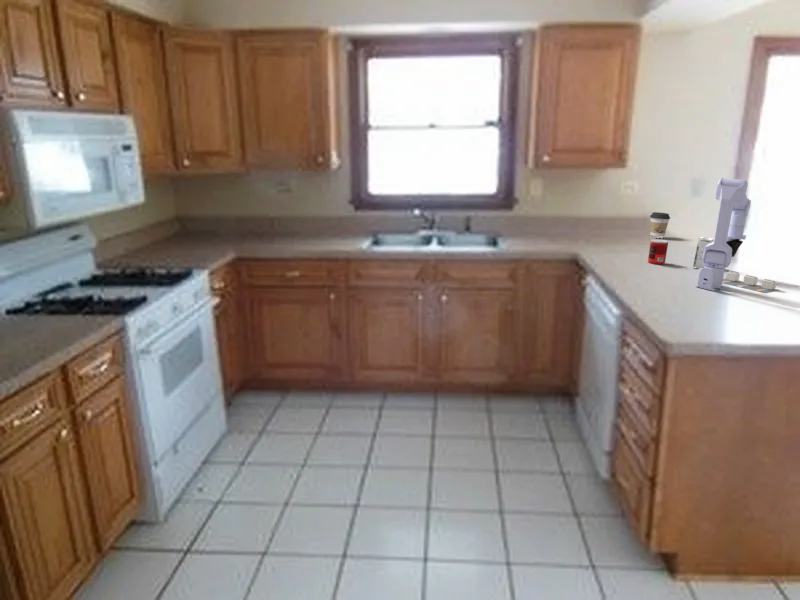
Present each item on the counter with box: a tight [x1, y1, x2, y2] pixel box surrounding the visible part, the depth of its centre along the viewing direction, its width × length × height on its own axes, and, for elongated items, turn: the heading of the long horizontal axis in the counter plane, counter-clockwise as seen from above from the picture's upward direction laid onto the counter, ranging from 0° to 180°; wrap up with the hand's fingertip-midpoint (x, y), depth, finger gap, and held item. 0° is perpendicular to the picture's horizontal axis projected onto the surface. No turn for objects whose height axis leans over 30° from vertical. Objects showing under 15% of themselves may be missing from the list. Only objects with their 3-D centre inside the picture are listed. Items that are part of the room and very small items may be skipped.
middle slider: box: [743, 274, 758, 285], centre depth 255 cm, size 3×4×3 cm
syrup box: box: [692, 236, 714, 268], centre depth 287 cm, size 6×6×14 cm
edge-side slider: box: [761, 278, 777, 290], centre depth 249 cm, size 3×4×3 cm
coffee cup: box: [649, 211, 671, 237], centre depth 367 cm, size 11×11×15 cm
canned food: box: [647, 238, 669, 266], centre depth 295 cm, size 8×8×11 cm
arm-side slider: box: [725, 270, 741, 281], centre depth 261 cm, size 3×4×3 cm
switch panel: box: [722, 277, 780, 294], centre depth 254 cm, size 12×22×1 cm, turn 33°
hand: (731, 256), depth 270 cm, fingers closed
